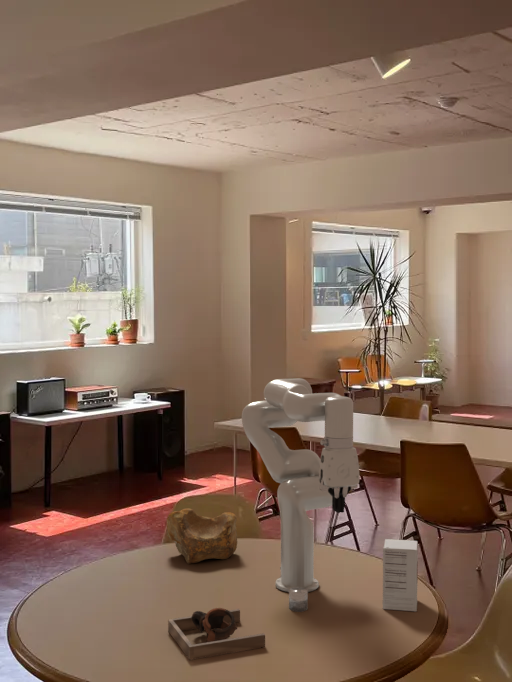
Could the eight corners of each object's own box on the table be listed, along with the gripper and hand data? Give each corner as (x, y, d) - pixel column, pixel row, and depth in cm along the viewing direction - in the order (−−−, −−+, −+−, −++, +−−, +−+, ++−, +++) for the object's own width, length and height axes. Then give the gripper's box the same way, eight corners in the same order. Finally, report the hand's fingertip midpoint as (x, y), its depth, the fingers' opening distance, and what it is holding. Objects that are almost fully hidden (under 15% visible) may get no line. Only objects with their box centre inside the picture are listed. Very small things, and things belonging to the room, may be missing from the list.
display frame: (168, 631, 212) (168, 619, 212) (238, 620, 219) (238, 609, 219) (189, 659, 196) (189, 647, 195) (265, 647, 203) (265, 634, 202)
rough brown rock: (160, 568, 263) (161, 523, 261) (167, 548, 280) (168, 505, 278) (235, 571, 263) (236, 525, 261) (237, 551, 279) (238, 507, 277)
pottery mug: (240, 632, 213) (243, 610, 208) (226, 662, 205) (229, 640, 201) (196, 616, 216) (198, 594, 211) (181, 644, 208) (183, 623, 203)
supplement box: (417, 612, 225) (417, 550, 224) (382, 609, 227) (382, 548, 226) (417, 599, 234) (418, 539, 233) (384, 597, 236) (384, 538, 235)
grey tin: (286, 606, 229) (286, 588, 229) (302, 603, 231) (302, 586, 231) (293, 612, 225) (293, 594, 224) (310, 610, 226) (310, 592, 226)
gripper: (319, 447, 217) (319, 517, 218) (370, 443, 222) (370, 512, 223) (307, 442, 224) (307, 510, 225) (356, 439, 229) (356, 505, 230)
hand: (338, 511), depth 224 cm, fingers closed
